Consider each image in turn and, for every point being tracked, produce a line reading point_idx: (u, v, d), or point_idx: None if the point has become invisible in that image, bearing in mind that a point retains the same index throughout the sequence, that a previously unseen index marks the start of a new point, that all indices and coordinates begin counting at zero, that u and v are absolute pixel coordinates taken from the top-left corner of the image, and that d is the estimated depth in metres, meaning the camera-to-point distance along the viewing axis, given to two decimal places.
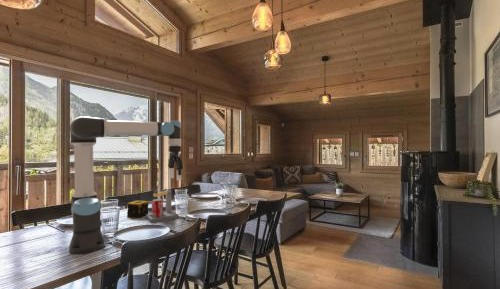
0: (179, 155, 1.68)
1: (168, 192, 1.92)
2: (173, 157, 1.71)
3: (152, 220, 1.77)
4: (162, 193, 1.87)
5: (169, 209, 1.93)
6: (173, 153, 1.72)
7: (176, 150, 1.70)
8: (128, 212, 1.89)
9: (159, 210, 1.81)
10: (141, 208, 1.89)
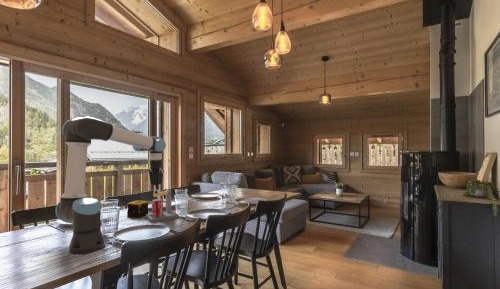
0: None
1: (168, 192, 1.92)
2: None
3: (152, 220, 1.77)
4: (162, 193, 1.87)
5: (169, 209, 1.93)
6: None
7: None
8: (128, 212, 1.89)
9: (159, 210, 1.81)
10: (141, 208, 1.89)
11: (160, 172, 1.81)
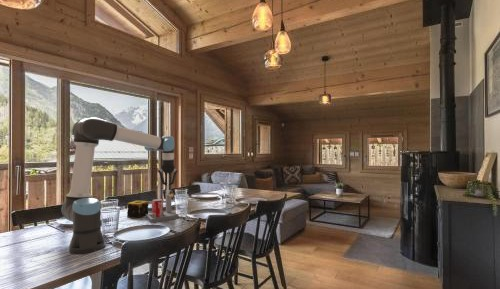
0: None
1: None
2: None
3: (152, 220, 1.77)
4: None
5: (169, 209, 1.93)
6: None
7: None
8: (128, 212, 1.89)
9: (159, 210, 1.81)
10: (141, 208, 1.89)
11: (176, 172, 1.83)
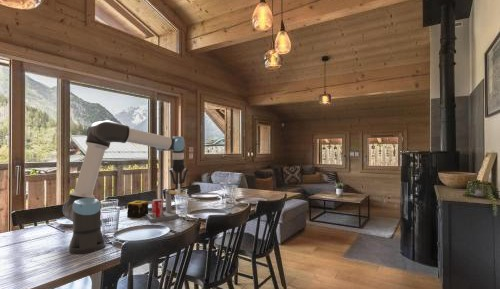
0: (170, 172, 1.84)
1: None
2: None
3: (152, 220, 1.77)
4: None
5: (169, 209, 1.93)
6: None
7: None
8: (128, 212, 1.89)
9: (159, 210, 1.81)
10: (141, 208, 1.89)
11: (186, 171, 1.89)
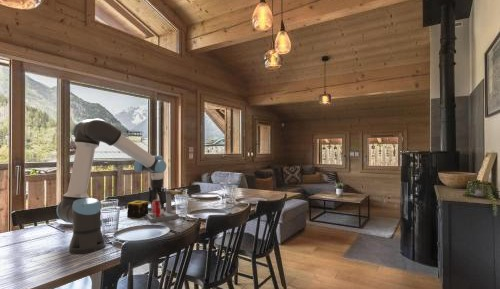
0: None
1: None
2: None
3: (152, 220, 1.77)
4: None
5: (169, 209, 1.93)
6: None
7: None
8: (128, 212, 1.89)
9: (159, 210, 1.81)
10: (141, 208, 1.89)
11: (163, 190, 1.81)
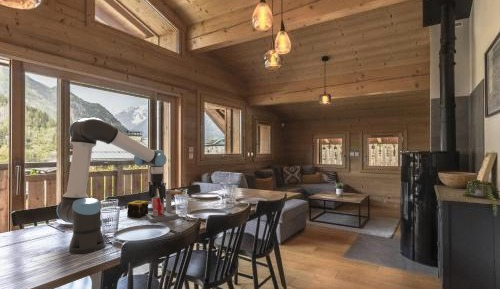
0: None
1: None
2: None
3: (152, 220, 1.77)
4: None
5: (169, 209, 1.93)
6: None
7: None
8: (128, 212, 1.89)
9: (161, 207, 1.82)
10: (141, 208, 1.89)
11: (162, 185, 1.80)
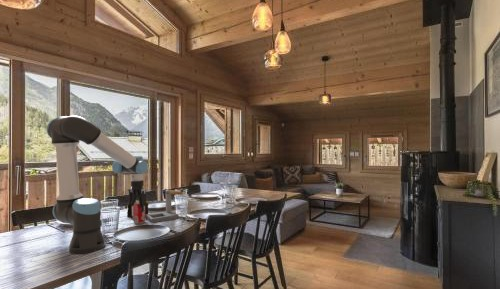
0: None
1: None
2: None
3: (152, 220, 1.77)
4: None
5: (169, 209, 1.93)
6: None
7: None
8: (128, 212, 1.89)
9: (141, 214, 1.74)
10: None
11: (142, 192, 1.72)
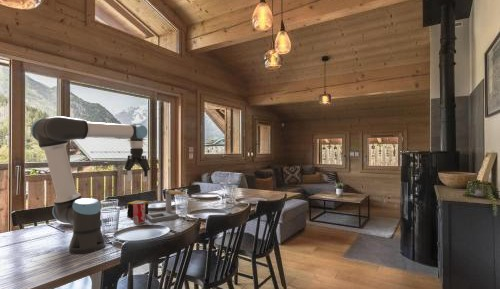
0: None
1: None
2: None
3: (152, 220, 1.77)
4: None
5: (169, 209, 1.93)
6: None
7: None
8: (128, 212, 1.89)
9: (141, 214, 1.74)
10: None
11: (142, 157, 1.72)
